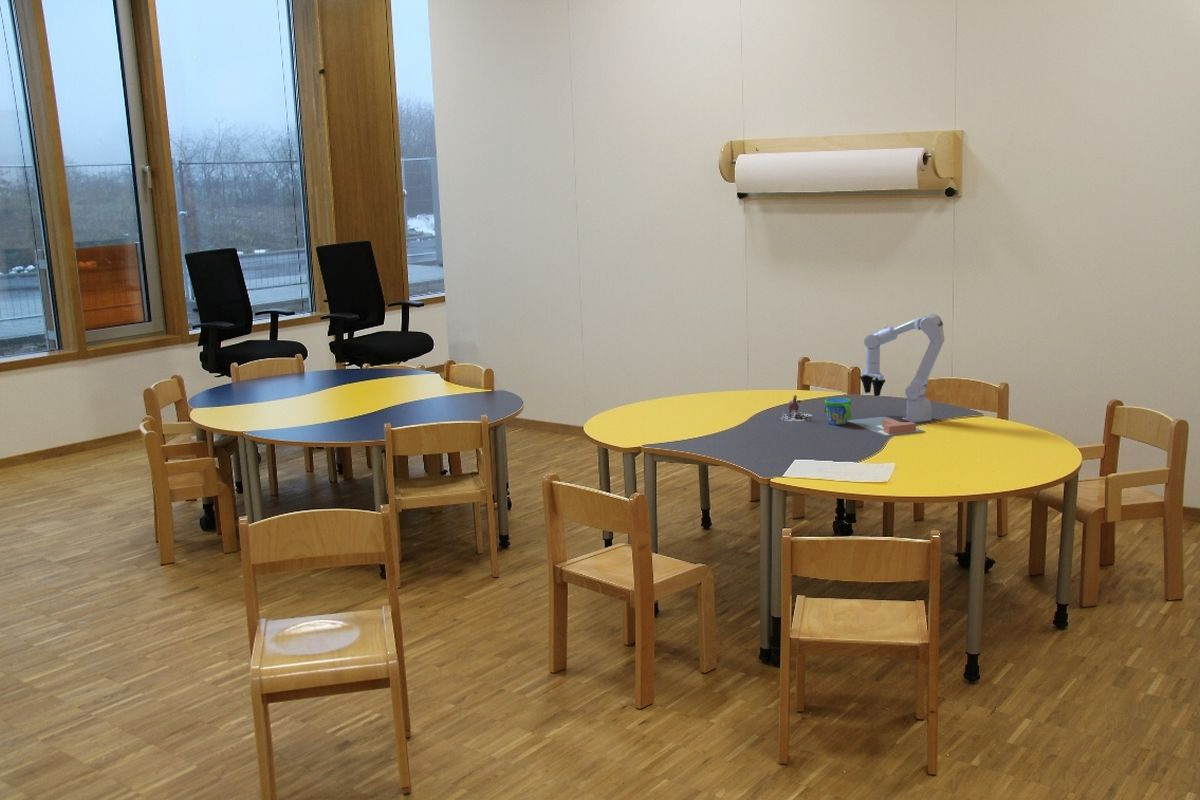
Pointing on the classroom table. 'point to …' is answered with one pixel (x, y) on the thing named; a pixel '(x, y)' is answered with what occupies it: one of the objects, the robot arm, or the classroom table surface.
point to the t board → (879, 426)
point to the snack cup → (837, 410)
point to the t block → (897, 426)
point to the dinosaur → (794, 406)
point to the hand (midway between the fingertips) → (872, 394)
